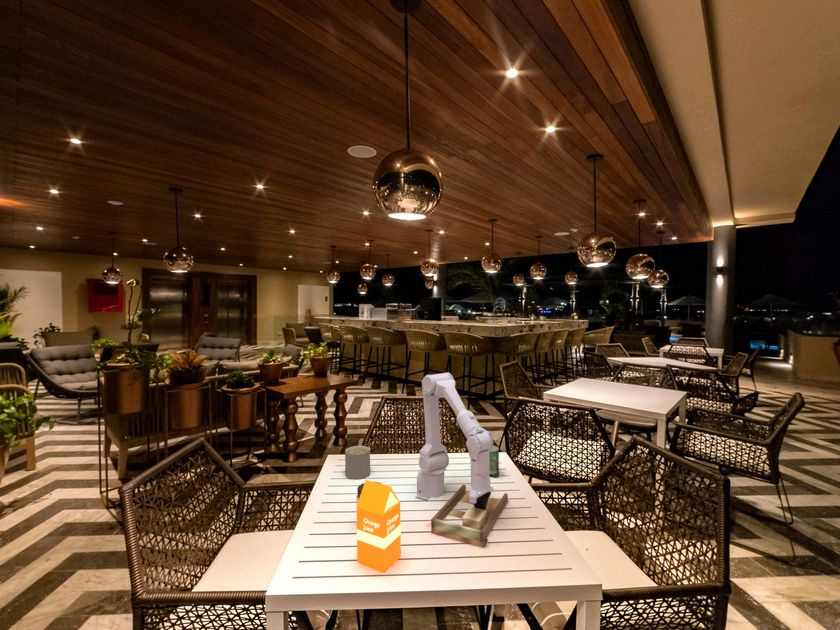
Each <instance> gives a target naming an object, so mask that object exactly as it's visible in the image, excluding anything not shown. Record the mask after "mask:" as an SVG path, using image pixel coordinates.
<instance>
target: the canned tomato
mask: <svg viewBox="0 0 840 630" xmlns="http://www.w3.org/2000/svg"><path fill="white" fill-rule="evenodd" d="M499 455H500V452H499V446H498V445H497V446H496V445H494V444H493V446H492V448H491V449H489V476H490V478H493V479H498V478H499V477H500V470H499V469H500V459H499V457H500V456H499Z"/></svg>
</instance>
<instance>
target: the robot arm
mask: <svg viewBox="0 0 840 630" xmlns="http://www.w3.org/2000/svg"><path fill="white" fill-rule="evenodd" d="M421 387H422V389H421V391H422V397H423V413H424V429H425V430H424V431H425V444H424V445H423V446H422V448H420V450H419V459H418V466H419V468H420V469H418V471H417V475H416V495H415V498H417V499H420V500H425V501H429V500H430V499H431V498H439V497H442V496H444V495H445V471H446V470H447V467H448V466H449V464H450V457H449V454H448V451H447V449H448V448H447V447H446V446H445V445H444V444H442V439H441V438H442V437H441V436H442V435H441V423H440V421H441V419H440V405H439V404H440V403H439V400H440V398H445V400H446V401H447V403H448V404H449V406H450V408H452V410H453V411H454V413H455V414H456V416H457V417H456V424H457V425H458V426H459V428H460V430H461V431H462V434H463V435H464V436H465V438H466V441H465V445H466V448H467V450H468V456H469V458H470V484H469V485H470V486H469V493H470V495H469V502H471V503H473V504H472V505H473V506H474V507H475V508H479V509H483V510H486V506H487V502H488V499H489V497H491V495H492V492H494V487H493V486H491V477H490V476H489V449H491V448H492V446H493V445H494V439H493V437H492V435H491V432H489V431H488V430H486V429H485V428H483V427H482V426H481V424H480V423H479V421H478V420H477V418H476V416H475V415H474V413H473V412H472V411H469V410H467V408H466V407H465V404H464V403H463V401H462V398H461V396H460V395H459V393H458V391H457V389H456V380H455V379H454V377H453V375H452V374H451V373H450V372H442V373H435V374H426V375H425V376H424V377H423V379H422V380H421Z"/></svg>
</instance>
